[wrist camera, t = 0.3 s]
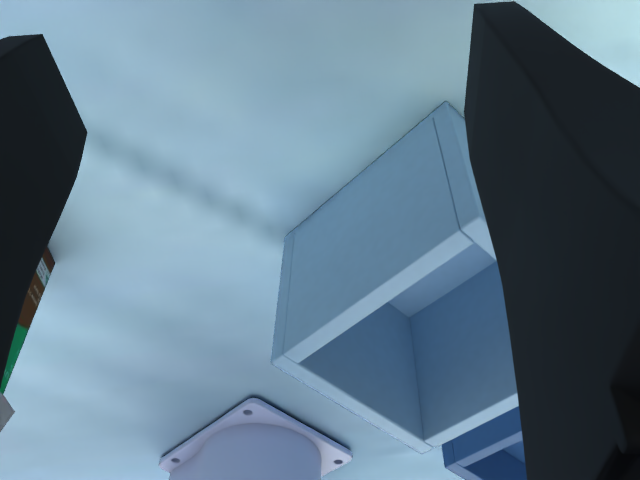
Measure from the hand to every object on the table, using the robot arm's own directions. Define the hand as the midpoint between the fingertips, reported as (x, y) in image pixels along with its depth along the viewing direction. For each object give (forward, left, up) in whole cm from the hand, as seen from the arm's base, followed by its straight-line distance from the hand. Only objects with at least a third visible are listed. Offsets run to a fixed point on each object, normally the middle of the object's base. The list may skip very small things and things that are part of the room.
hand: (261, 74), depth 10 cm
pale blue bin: (-5, -12, -11) cm, 17 cm away
